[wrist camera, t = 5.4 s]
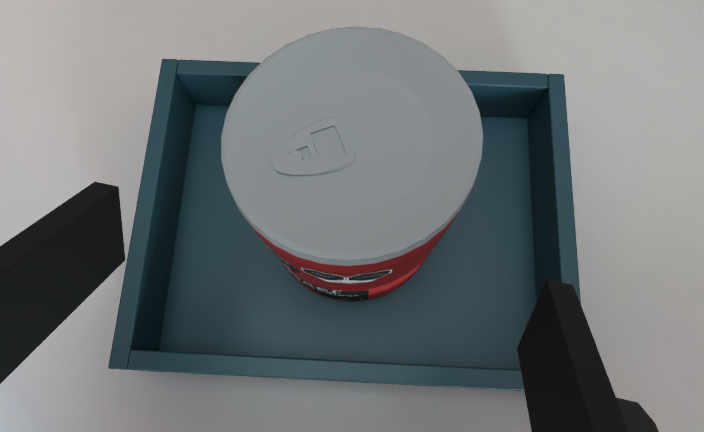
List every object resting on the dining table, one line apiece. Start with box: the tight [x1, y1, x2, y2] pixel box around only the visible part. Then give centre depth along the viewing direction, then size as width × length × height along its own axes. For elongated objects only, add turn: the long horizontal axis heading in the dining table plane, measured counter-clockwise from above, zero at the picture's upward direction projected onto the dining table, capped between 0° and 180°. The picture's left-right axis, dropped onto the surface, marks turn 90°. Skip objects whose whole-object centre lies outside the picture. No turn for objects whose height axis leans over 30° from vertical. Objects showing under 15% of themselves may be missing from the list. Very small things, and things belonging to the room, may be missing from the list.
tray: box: [109, 59, 581, 391], centre depth 24 cm, size 20×15×4 cm
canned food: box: [221, 27, 483, 301], centre depth 20 cm, size 8×8×11 cm
